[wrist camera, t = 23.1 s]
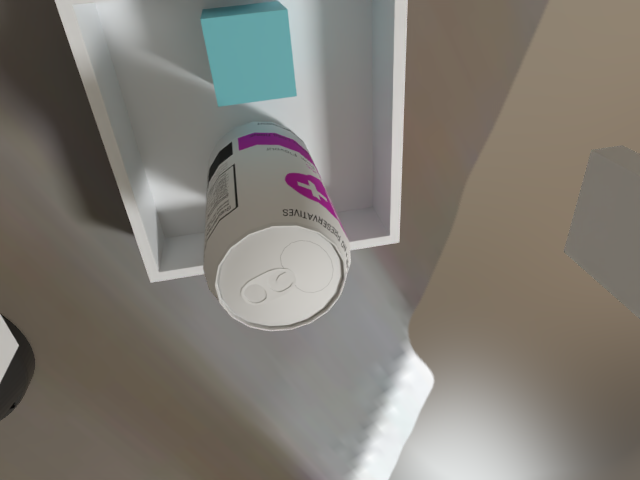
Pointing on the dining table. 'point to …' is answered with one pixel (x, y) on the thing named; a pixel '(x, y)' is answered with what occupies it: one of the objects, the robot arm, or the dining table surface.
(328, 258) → the supplement can
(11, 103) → the dining table surface
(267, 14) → the cube
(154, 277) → the tote
